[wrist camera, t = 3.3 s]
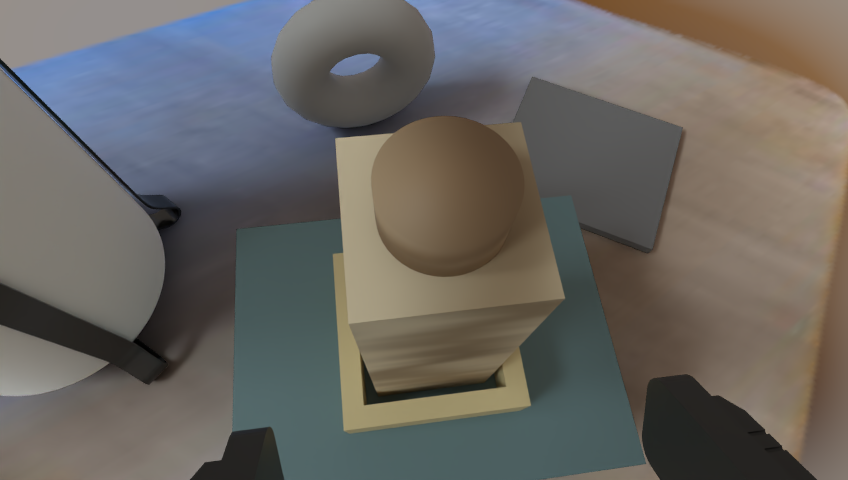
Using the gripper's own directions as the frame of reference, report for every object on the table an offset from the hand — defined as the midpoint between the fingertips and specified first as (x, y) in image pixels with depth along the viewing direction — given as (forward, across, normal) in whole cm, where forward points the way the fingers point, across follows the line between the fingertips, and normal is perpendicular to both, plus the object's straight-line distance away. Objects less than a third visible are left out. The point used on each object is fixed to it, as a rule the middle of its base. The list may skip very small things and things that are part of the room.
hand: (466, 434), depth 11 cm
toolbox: (+16, 0, +9) cm, 18 cm away
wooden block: (+11, 0, +4) cm, 12 cm away
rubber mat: (+24, -13, +1) cm, 27 cm away
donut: (+28, +2, -3) cm, 28 cm away
